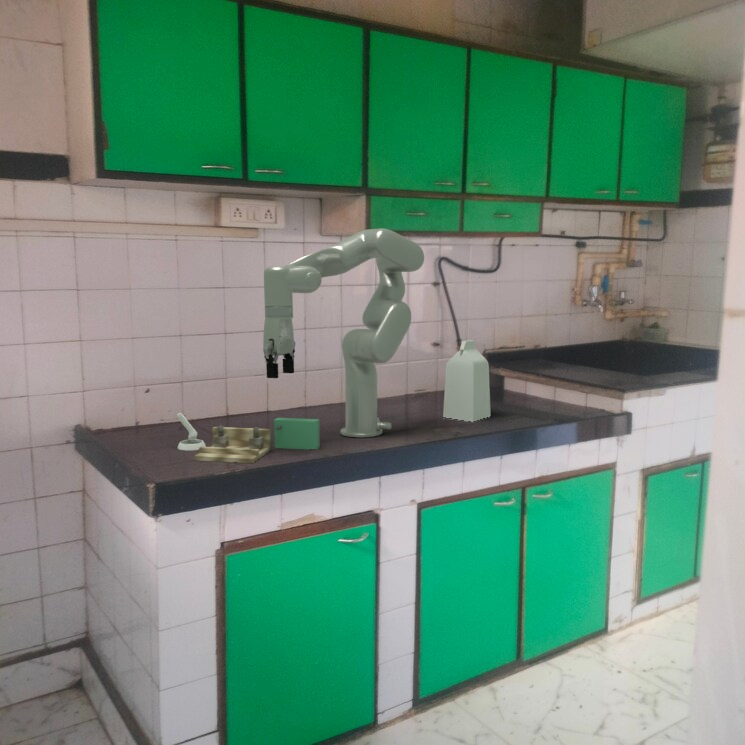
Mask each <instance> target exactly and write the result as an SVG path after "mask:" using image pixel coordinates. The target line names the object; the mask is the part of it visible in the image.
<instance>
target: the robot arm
mask: <svg viewBox="0 0 745 745" xmlns="http://www.w3.org/2000/svg"><path fill="white" fill-rule="evenodd" d="M372 259H375V262H376V266H377V269H378V273H379V283H378V285H377V288H376V289H375V291H374V292H373V294H372V296H371V298H370V300H369V301H368V303H367V306H366V307H365V308H364V311H363V314H362V318H361V319H362V323H363V325H364V326H365V328H354V329H352V330H349V331H348V332H346V334H345V335H344V337H343V339H342V343H341V350H342V355H343V360H344V369H345V384H344V385H345V427H342V428H341V429H340V435H342V436H345V437H351V438H373V437H377V436H380V435H382V434H383V429H385V430H391V429H392V422H389V421H381V420H380V417H378V373H377V368H376V366H375V364H386V363H387V362H389V361H390V360H392V358H393V357H394V355H395V354H396V352H397V350H398V349H399V347H400V346H401V344H402V341H403V340H404V337H405V336H406V335H407V333H408V330H409V329H410V326H411V324H412V311H411V308H410V306H409V305H408V304H407V303H406V302H404V301H403V298H404V296H405V293H406V284H405V280H404V277H403V273H410V272H411V273H412V272H416V271H418V270H420V269H421V268H422V266H423V264H424V262H425V253H424V250H423V249H422V247H421V246H420V245H419V244H418V243H417V242H414V241H412V239H409V238H407V237H405V236H403V235H402V234H399V233H397V232H395V231H393V230H391V229H388V228H381V227H380V228H370V229H363V230H360V231H359V232H356V233H353V235H350V236H348V237H347V238H345V239H343V240H341V241H339V242H337V243H335V244H333V245H331V246H328V247H325V248H322V249H320V250H317V251H315V252H313V253H310V254H309V253H308V255H305V256H302V257H299V258H298V259H295V260H293V261H292V262H289V263H288V264H286V265H283V266H267V267H265V268H264V271H263V289H264V292H263V293H264V294H263V295H264V326H263V339H262V341H263V349H262V352H263V354H264V357H263V358H264V359H265V364H266V366H265V368H266V378H267V379H278V378H279V363H278V359H279V356H282V357H283V358H282V373H283V374H294V373H295V352H296V350H295V349H296V341H295V337H294V326H293V318H294V311H293V310H294V306H293V305H294V304H293V303H294V302H293V300H294V299H293V294H311V293H314V292H316V291H317V290H318V289H319V288H320V287H321V284H322V279H323V278H326V277H327V278H328V277H335V276H339V275H342V274H345V273H347V272H349V271H351V270H352V269H354V268H356V267H358V266H361V265H362V264H364V263H365V262H367V261H369V260H372ZM366 328H367V329H366Z"/></svg>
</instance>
